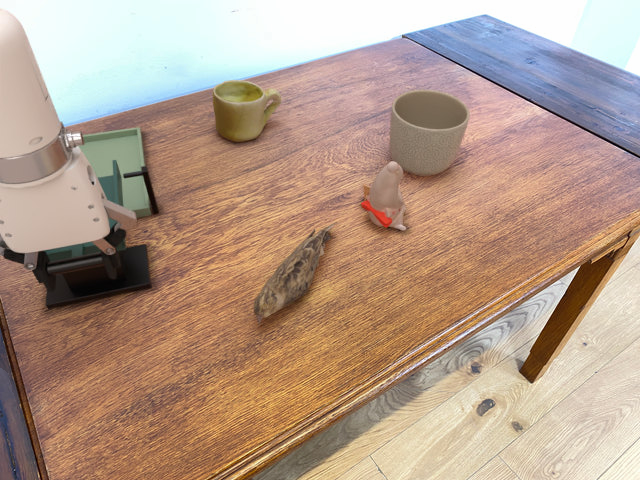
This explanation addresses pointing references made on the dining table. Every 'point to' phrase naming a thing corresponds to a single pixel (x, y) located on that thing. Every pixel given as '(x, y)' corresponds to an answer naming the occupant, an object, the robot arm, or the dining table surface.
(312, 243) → the bird model
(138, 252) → the stand
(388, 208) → the figurine
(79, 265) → the scoop
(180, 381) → the dining table surface
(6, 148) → the robot arm
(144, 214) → the tray
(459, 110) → the planter
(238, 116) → the mug
